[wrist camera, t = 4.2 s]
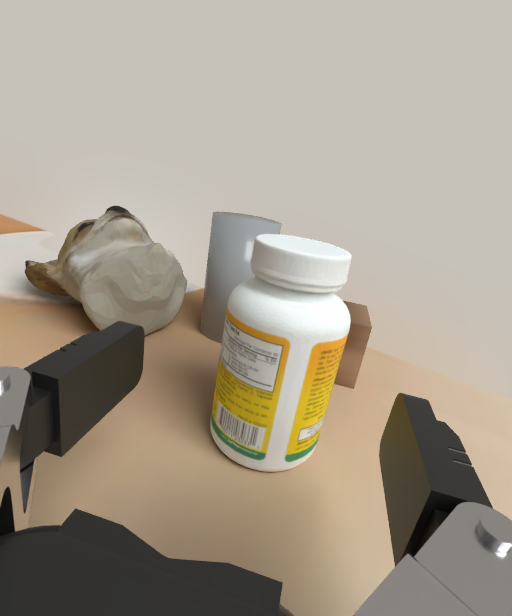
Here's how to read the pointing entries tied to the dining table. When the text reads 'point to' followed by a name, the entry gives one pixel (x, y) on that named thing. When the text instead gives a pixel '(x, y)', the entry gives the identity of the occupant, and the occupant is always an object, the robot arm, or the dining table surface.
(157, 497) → the dining table surface
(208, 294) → the light grey cylinder
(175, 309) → the ceramic sculpture
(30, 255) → the dining table surface
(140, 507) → the dining table surface
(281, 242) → the supplement bottle
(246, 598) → the robot arm
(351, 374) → the walnut block
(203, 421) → the dining table surface
